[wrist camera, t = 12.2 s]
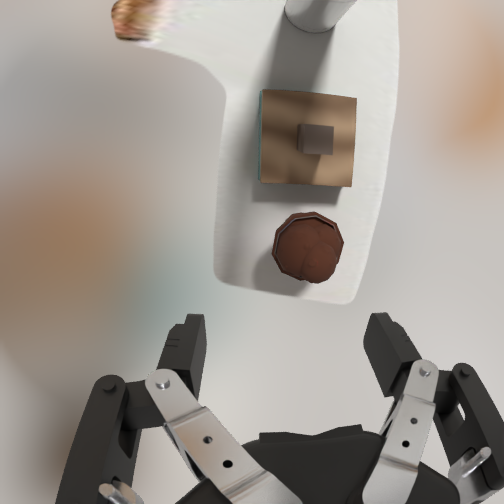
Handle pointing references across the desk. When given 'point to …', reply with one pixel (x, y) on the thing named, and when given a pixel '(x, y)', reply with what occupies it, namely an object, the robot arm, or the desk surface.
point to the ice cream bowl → (308, 247)
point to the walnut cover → (307, 138)
